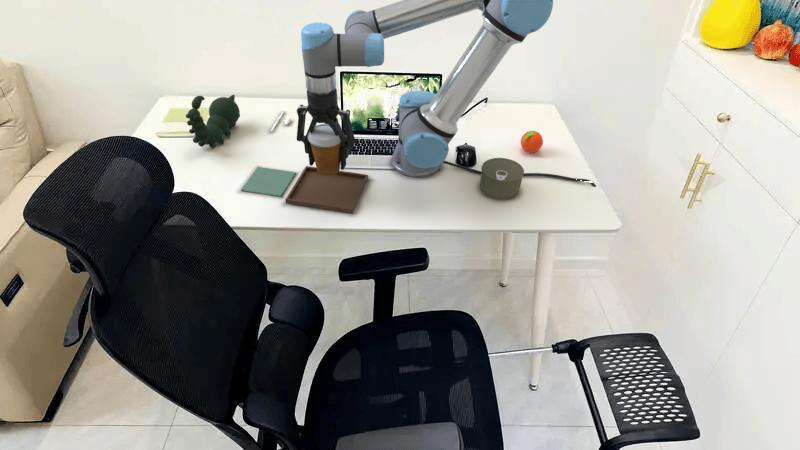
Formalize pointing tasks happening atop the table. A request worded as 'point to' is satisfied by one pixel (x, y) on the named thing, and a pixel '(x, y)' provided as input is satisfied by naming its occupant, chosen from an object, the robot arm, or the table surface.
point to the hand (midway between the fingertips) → (328, 164)
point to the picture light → (279, 119)
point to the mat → (268, 181)
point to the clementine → (531, 141)
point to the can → (501, 178)
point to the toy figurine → (213, 120)
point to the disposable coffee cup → (325, 149)
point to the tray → (328, 190)
